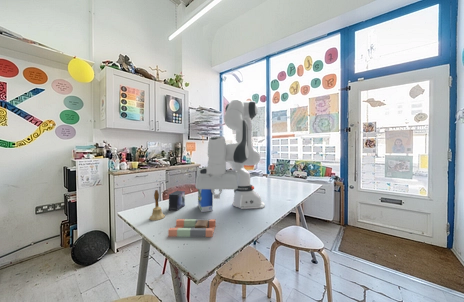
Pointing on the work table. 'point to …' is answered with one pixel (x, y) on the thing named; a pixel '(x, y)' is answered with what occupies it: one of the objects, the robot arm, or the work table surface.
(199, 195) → the string lights box
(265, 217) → the work table surface
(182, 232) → the multicolored rectangular frame
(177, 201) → the small box
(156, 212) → the hand bell
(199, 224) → the walnut block
